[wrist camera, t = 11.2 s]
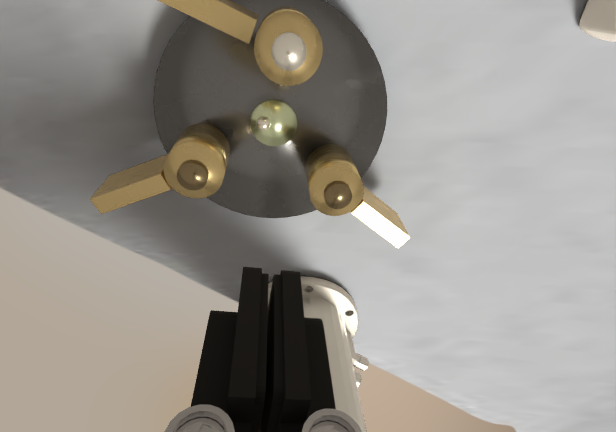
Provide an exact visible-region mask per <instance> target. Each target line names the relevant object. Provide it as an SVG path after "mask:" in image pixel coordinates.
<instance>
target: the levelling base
mask: <svg viewBox="0 0 616 432" xmlns="http://www.w3.org/2000/svg"><path fill="white" fill-rule="evenodd" d="M230 1H232V2H234V3H236V4H238V5H240V6H242V7H244V8H246V9H248V10H250V11H252V12H254V13H256V14H258V15H259V17H258V20H257V23H256V26H255V29H254V32H253V35H252V37H251V40H250V42H249V44H248V43H246V42H244V41H242V40H239V39H237V38H235V37H233V36H231V35H229V34H227V33H225V32H223V31H221V30H219V29H216V28H214V27H212V26H210V25H208V24H206V23H204V22H202V21H200V20H198V19H196V18H194V17H191V16H190V17H189V18H188V19H187V20H186V21H185V22H184V23H183V24H182V25H181V26H180V27H179V29H178V30H177V31H176V33H175V34H174V35H173V37H172V38H171V39H170V41H169V43H168V45H167V47H166V49H165V51H164V53H163V55H162V58H161V61H160V64H159V67H158V69H157V74H156V80H155V85H154V111H155V119H156V124H157V128H158V132H159V135H160V138H161V140H162V143H163V146H164V148H165V150H166V152H167V154H169V153H170V151H171V149H172V148H173V146H174V144H175V143H176V141H177V139H178V138H179V136H180V134H181V133H182V132H183V130H184V129H186V128H187V127H188V126H191V125H193V124H198V123H203V124H209V125H212V126H214V127H216V128H217V129H219V130H220V131H221V132H222V133H223V134H224V135H225V136H226V138H227V140H228V142H229V146H230V155H229V159H228V163H227V167H226V170H225V174H224V178H223V182H222V184H221V186H220V188H219V189H218V190H217V191H216V192H215V193H214V194H212V195H210V196H208V197H207V198H208V199H210V200H212V201H214V202H215V203H217V204H219V205H221V206H223V207H225V208H228V209H230V210H232V211H235V212H239V213H242V214H245V215H250V216H256V217H265V218H284V217H291V216H298V215H302V214H305V213H309V212H312V211H314V210H317V209H316V208H315V207H314V205H313V204H312V202H311V199H310V193H309V187H308V181H307V175H306V161H307V159H308V157H309V155H310V154H311V153H312V152H313V151H314V150H315V149H317V148H318V147H320V146H323V145H328V144H334V145H338V146H341V147H343V148H344V149H346V150H347V151H348V152H349V154H350V155H351V157H352V159H353V162H354V164H355V166H356V168H357V171H358V173H359V175H360V177H362V176H363V175H364V173H365V172H366V170H367V169H368V168H369V166H370V165H371V163H372V161H373V159H374V157H375V155H376V154H377V151H378V149H379V146H380V144H381V141H382V138H383V134H384V130H385V125H386V116H387V94H386V87H385V81H384V77H383V74H382V70H381V67H380V64H379V62H378V60H377V58H376V55H375V53H374V51H373V49H372V48H371V46H370V44H369V43H368V41H367V40H366V38H365V37H364V35H363V34H362V33H361V32H360V31H359V29H358V28H357V27H356V26H355V24H353V23H352V22H351V21H350V20H349V19H348V18H347V17H346V16H345V15H344V14H343V13H341V12H340V11H338V10H337V9H335V8H334V7H333V6H331V5H330V4H328V3H326V2H324V1H322V0H230ZM279 7H292V8H295V9H298V10H299V11H301V12H302V13H304V14H305V15H306V16H307V17H308V18H309V19H310V20H311V22H312V23H313V24H314V25H315V26H316V28H317V30H318V31H319V34H320V36H321V40H322V46H323V53H322V59H321V62H320V65H319V67H318V69H317V70H316V72H315V73H314V74H313V75H312V77H310V78H309V79H308V80H307V81H305V82H303V83H301V84H298V85H293V86H285V85H280V84H277V83H275V82H273V81H271V80H270V79H269V78H267V77H266V76H265V75H264V74H263V72H262V71H261V69H260V68H259V66H258V64H257V61H256V58H255V53H254V43H255V38H256V34H257V31H258V28H259V25H260V23H261V21H262V20H263V18H264V17H265V16H266V15H267V14H268V13H269V12H270V11H272V10H274V9H276V8H279Z"/></svg>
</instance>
